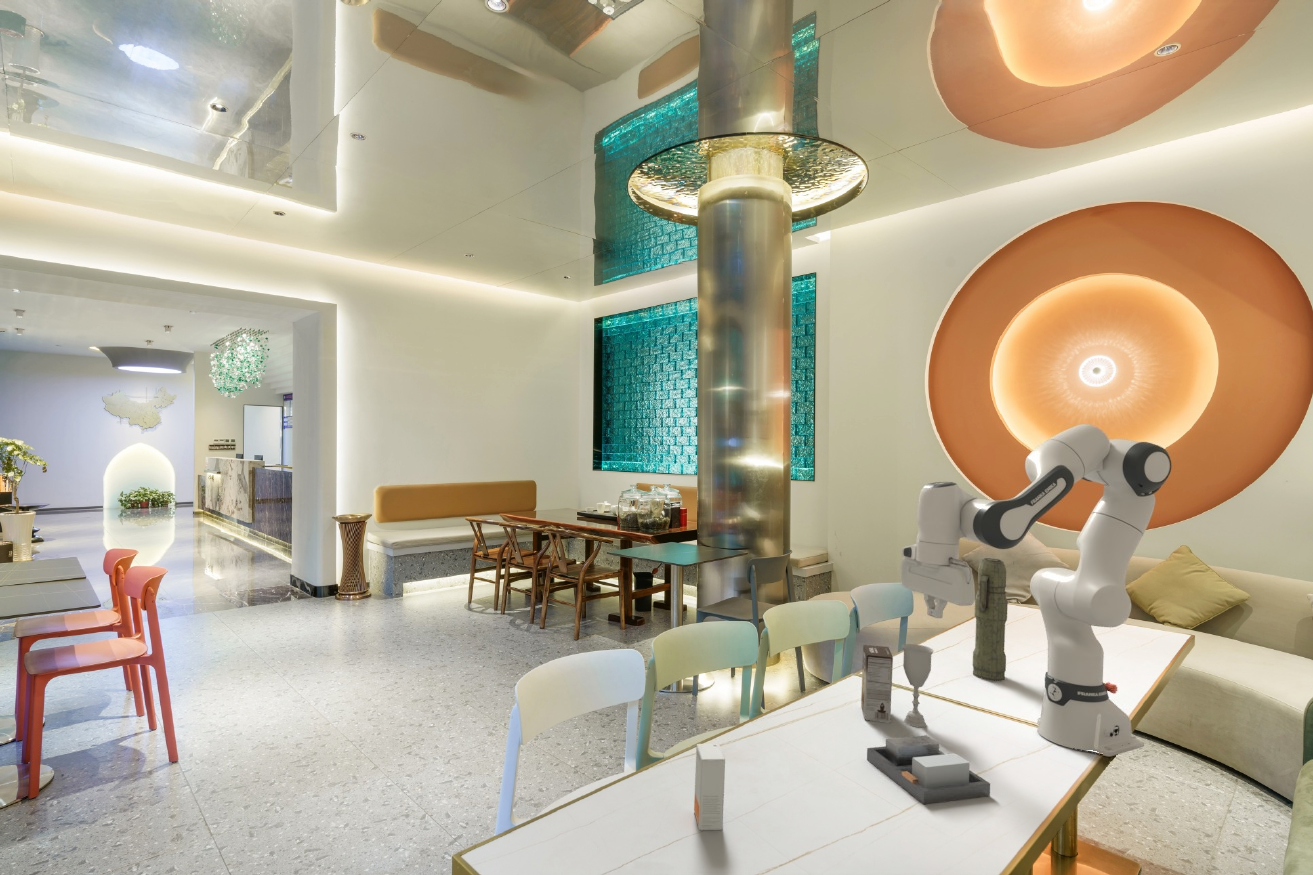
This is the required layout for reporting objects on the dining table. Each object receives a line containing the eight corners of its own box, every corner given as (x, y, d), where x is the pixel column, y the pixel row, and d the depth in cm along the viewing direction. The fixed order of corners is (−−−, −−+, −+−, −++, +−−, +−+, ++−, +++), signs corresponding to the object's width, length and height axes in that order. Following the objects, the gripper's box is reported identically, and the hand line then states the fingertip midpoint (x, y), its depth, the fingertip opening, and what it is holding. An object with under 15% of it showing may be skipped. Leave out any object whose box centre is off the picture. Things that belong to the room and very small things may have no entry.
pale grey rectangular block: (954, 775, 132) (954, 753, 132) (968, 785, 128) (969, 762, 128) (911, 780, 130) (912, 757, 130) (925, 790, 126) (926, 767, 126)
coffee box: (860, 706, 169) (862, 643, 170) (886, 709, 168) (888, 646, 168) (863, 720, 160) (866, 654, 161) (891, 723, 159) (894, 656, 159)
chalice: (930, 719, 162) (932, 646, 163) (932, 730, 156) (934, 654, 156) (898, 714, 165) (901, 642, 165) (899, 725, 158) (902, 649, 159)
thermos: (1011, 675, 199) (1014, 559, 200) (998, 684, 191) (1002, 563, 192) (980, 668, 206) (983, 555, 206) (966, 676, 197) (970, 559, 198)
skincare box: (693, 811, 117) (696, 742, 117) (716, 811, 117) (719, 743, 117) (698, 831, 110) (701, 759, 111) (723, 830, 111) (726, 759, 111)
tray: (926, 753, 144) (927, 728, 144) (989, 795, 126) (990, 768, 127) (866, 759, 140) (867, 734, 140) (923, 804, 122) (924, 775, 122)
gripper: (983, 562, 138) (981, 628, 138) (919, 547, 158) (917, 605, 157) (958, 562, 136) (956, 629, 136) (896, 547, 156) (894, 606, 156)
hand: (934, 616), depth 147 cm, fingers closed
